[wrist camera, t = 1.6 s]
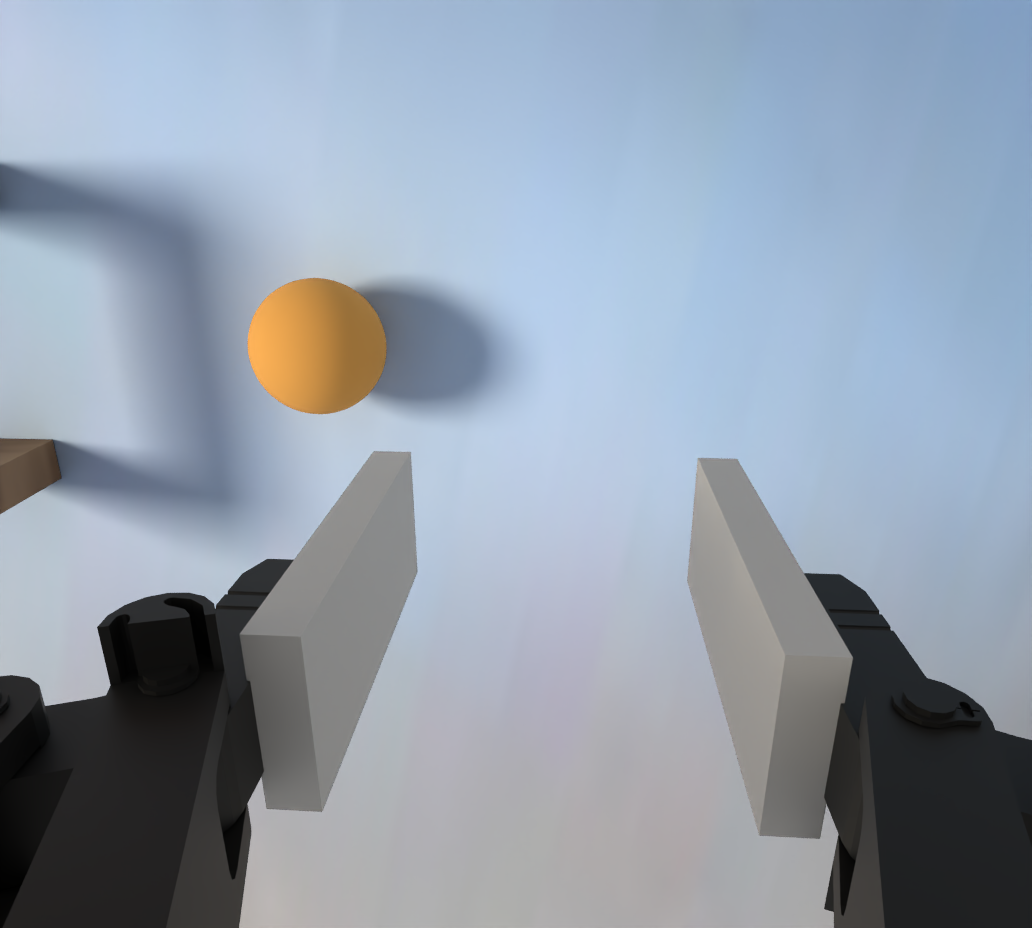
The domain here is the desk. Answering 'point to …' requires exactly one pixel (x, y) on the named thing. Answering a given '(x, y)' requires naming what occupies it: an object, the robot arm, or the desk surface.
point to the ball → (317, 346)
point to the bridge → (25, 469)
